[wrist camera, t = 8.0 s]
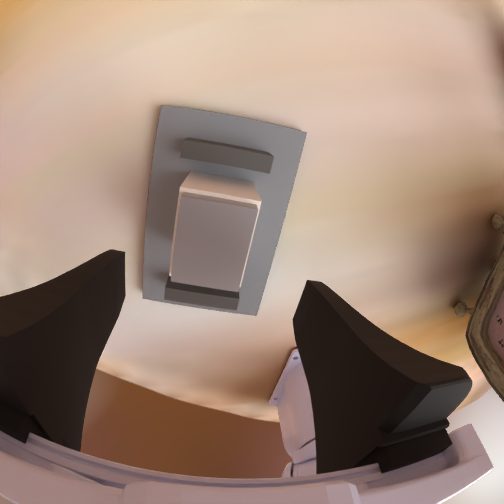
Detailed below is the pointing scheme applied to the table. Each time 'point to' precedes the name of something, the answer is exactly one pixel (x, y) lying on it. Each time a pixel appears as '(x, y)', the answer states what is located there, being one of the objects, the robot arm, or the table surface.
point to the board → (227, 165)
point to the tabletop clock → (489, 322)
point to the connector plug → (213, 231)
